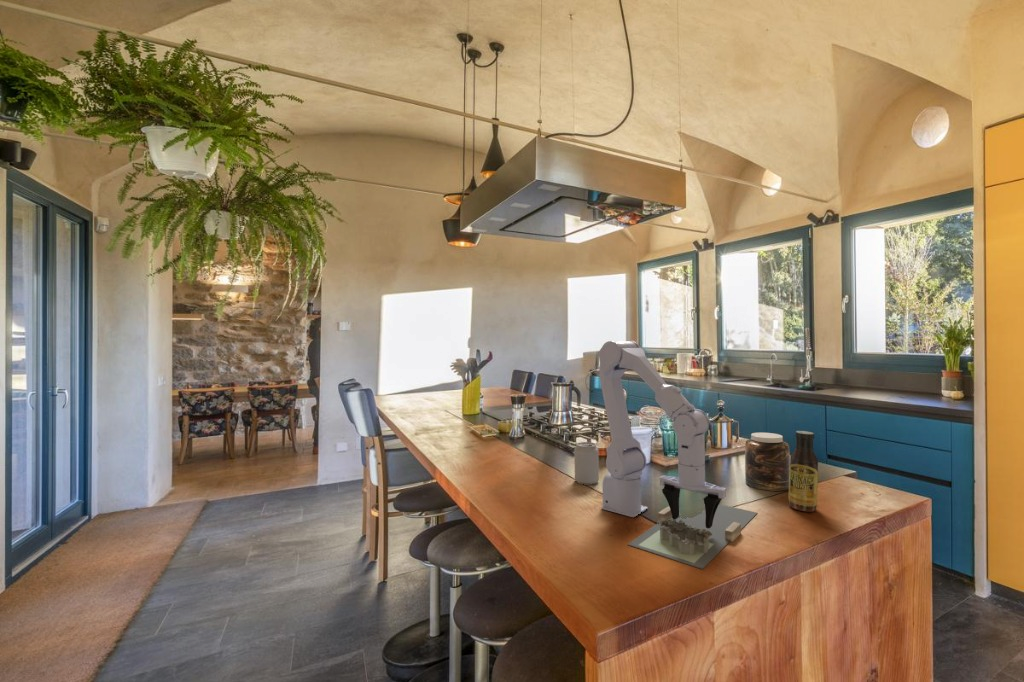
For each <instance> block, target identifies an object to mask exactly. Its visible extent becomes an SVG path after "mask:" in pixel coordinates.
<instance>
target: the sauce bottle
mask: <svg viewBox="0 0 1024 682" xmlns="http://www.w3.org/2000/svg"><path fill="white" fill-rule="evenodd" d="M794 436H795V448H794V450H793V452H792V453H791V454H790V472H789V489H788V505H789V507H790V508H791V509H794V510H796V511H800V512H804V513H805V512H806V513H813V512H815V511H816V510H817V507H818V506H817V505H818V488H819V485H818V483H819V481H818V479H819V459H818V457H817V455H816V453H815V452H814V440H815V433H814V432H811V431H806V430H796V431H795V435H794Z"/></svg>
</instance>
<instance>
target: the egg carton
mask: <svg viewBox="0 0 1024 682" xmlns="http://www.w3.org/2000/svg"><path fill="white" fill-rule="evenodd" d="M656 521H657V523H659V525H660V526H661V527H660V538H661V539H662V540H669V545H670V546H675V547H679V552H680V553H683V554H688V555H694V552H696V551H699V552H703V553H708V548H709V539H708V538H709V537H710V536H712V534H711V532H709V531H707V530H705V529H703V530H701V529H699V528H695V527H694V526H691V525H688V524H687V525H685V522H683V521H682V520H680V521H679V522H676V520H673V521H671V520H668V521H667V520H665V521H659V520H658V519H657V520H656ZM685 536H687V537H685Z"/></svg>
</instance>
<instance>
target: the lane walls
mask: <svg viewBox="0 0 1024 682" xmlns="http://www.w3.org/2000/svg"><path fill="white" fill-rule="evenodd" d="M671 517H672V514H671V510H670V507H669V505H668V506H667V507H665V508H663V509H661V510H660V511H659V512H657V520H659V521H665V520H668V519H670V518H671ZM741 534H742V530H741V523H736V522H733V523H732V524H731V525H730V526H729V527H728V528H727V529H726V530H725V539H726V540H730V542H729V543H733V542H734V541H735V540H737V538H738V537H739V536H740V535H741Z"/></svg>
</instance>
